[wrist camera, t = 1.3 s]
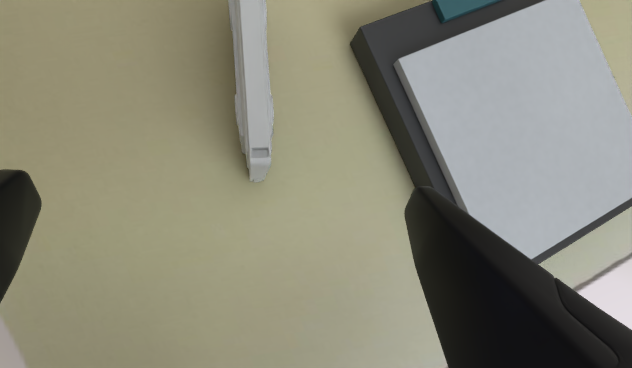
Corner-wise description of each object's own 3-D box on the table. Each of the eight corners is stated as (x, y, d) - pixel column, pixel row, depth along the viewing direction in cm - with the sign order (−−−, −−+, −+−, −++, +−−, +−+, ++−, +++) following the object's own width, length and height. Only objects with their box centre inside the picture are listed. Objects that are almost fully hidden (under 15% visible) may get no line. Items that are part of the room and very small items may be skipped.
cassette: (271, 181, 21) (284, 165, 14) (241, 183, 21) (237, 168, 13) (258, 1, 22) (263, -106, 15) (229, 0, 22) (219, -110, 14)
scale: (629, 189, 27) (675, 187, 24) (462, 290, 23) (493, 301, 20) (532, -25, 27) (567, -54, 24) (349, 43, 23) (363, 19, 20)
